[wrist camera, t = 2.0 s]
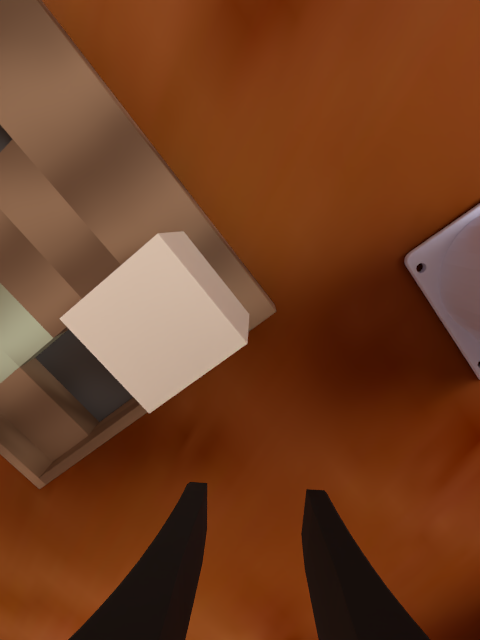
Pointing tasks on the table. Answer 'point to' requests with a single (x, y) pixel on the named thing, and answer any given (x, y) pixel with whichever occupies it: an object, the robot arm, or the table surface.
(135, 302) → the cream block
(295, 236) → the table surface
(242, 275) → the trap tray
